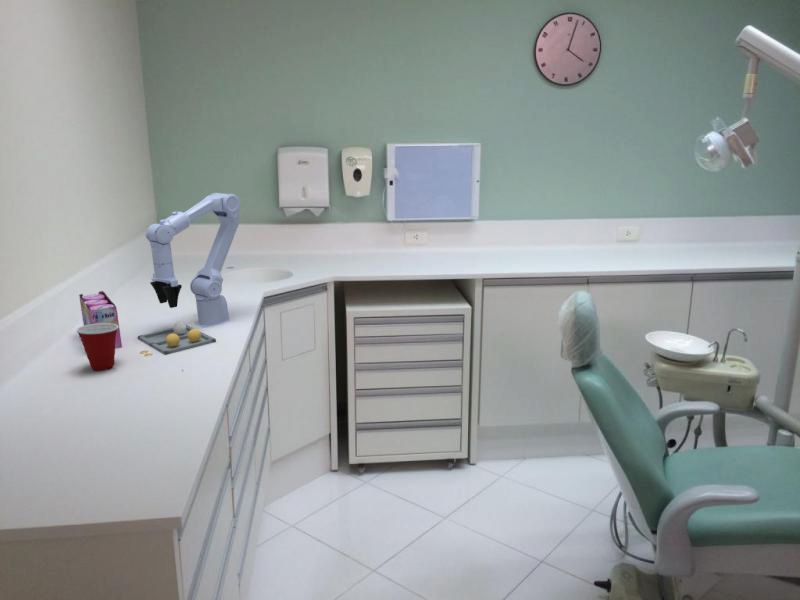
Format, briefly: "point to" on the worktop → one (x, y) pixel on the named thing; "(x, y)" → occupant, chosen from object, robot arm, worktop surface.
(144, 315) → the worktop surface
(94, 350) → the plastic cup
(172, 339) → the amber ball
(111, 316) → the gum box
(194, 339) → the amber ball
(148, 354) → the card
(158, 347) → the sorting tray
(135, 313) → the worktop surface
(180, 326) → the ivory ball
